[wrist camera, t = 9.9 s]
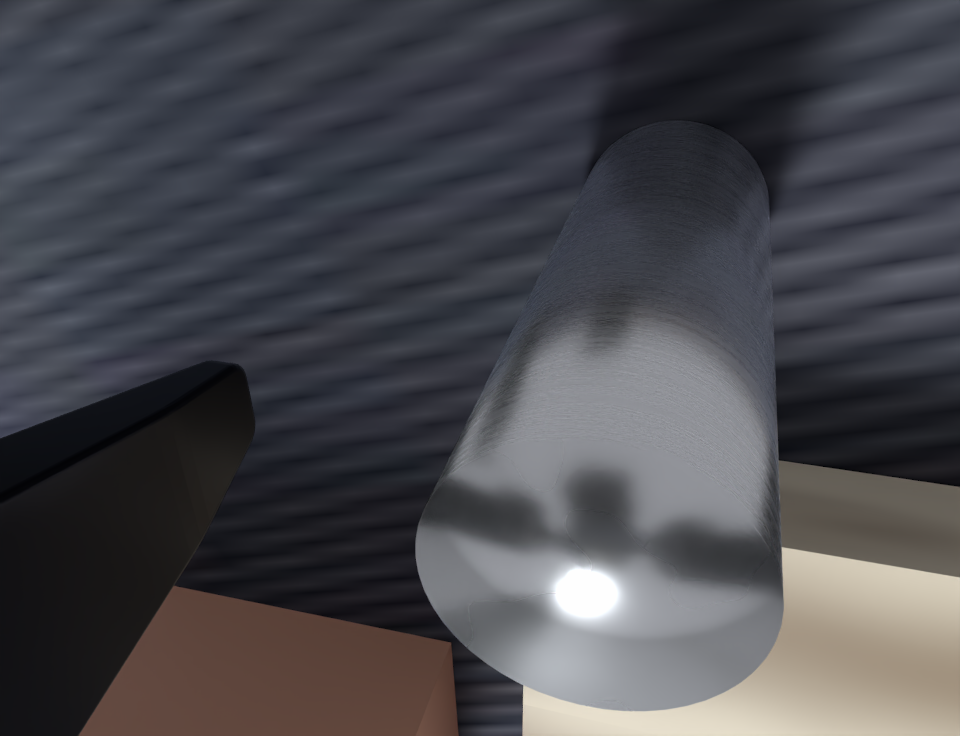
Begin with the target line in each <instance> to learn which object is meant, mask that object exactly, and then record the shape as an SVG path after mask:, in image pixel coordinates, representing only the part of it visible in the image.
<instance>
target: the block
mask: <svg viewBox="0 0 960 736" xmlns="http://www.w3.org/2000/svg"><path fill="white" fill-rule="evenodd" d="M79 736H459V735H458V722H457V710H456V697H455V685H454V672H453V659H452V647H451V643H450V642H446V641H441V640H436V639H431V638H426V637H421V636H416V635H411V634H406V633H402V632H397V631H392V630H387V629H382V628H377V627H372V626H367V625H363V624H358V623H353V622H348V621H343V620H338V619H333V618H328V617H323V616H319V615H314V614H309V613H304V612H299V611H294V610H289V609H284V608H279V607H275V606H270V605H265V604H260V603H255V602H250V601H245V600H240V599H236V598H231V597H226V596H221V595H216V594H211V593H206V592H201V591H196V590H192V589H187V588H182V587H177V586H173V588H172V590H171V591H170V593H169V594H168V596H167V598H166V599H165V601H164V602H163V604H162V605H161V607H160V609H159V610H158V612H157V613H156V615H155V616H154V618H153V620H152V621H151V623H150V624H149V626H148V627H147V629H146V631H145V632H144V634H143V635H142V637H141V638H140V640H139V642H138V643H137V645H136V646H135V648H134V649H133V651H132V653H131V654H130V656H129V657H128V659H127V660H126V662H125V664H124V665H123V667H122V668H121V670H120V672H119V673H118V675H117V676H116V678H115V679H114V681H113V683H112V684H111V686H110V687H109V689H108V690H107V692H106V694H105V695H104V697H103V698H102V700H101V701H100V703H99V705H98V706H97V708H96V709H95V711H94V712H93V714H92V716H91V717H90V719H89V720H88V722H87V723H86V725H85V727H84V728H83V730H82V731H81V733H80V734H79Z"/></svg>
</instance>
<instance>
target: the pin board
mask: <svg viewBox="0 0 960 736" xmlns="http://www.w3.org/2000/svg"><path fill="white" fill-rule="evenodd" d="M779 485H780V513H781V540H782V568H783V596H784V612H783V618H782V625H781V629H780V631H779V634H778V637H777V640H776V642H775V644H774V646H773V648H772V649H771V651H770V653H769V654H768V656H767V658H766V659H765V660H764V661H763V662H762V663H761V665H760V666H759V667H758V668H757V669H756V670H755V671H754V672H753V673H752V674H751V675H749V676H748V677H747V678H746V679H745V680H743V681H742V682H741V683H739V684H738V685H736V686H734V687H733V688H731V689H729V690H728V691H726V692H724V693H722V694H720V695H717V696H715V697H713V698H710V699H708V700H706V701H702V702H699V703H695V704H692V705H689V706H684V707H679V708H673V709H667V710H656V711H618V710H608V709H600V708H594V707H589V706H583V705H579V704H575V703H571V702H568V701H564V700H560V699H557V698H554V697H551V696H549V695H546V694H543V693H540V692H538V691H536V690H533V689H531V688H529V687H527V686H524V685H523V736H960V487H956V486H949V485H943V484H936V483H929V482H922V481H916V480H909V479H902V478H895V477H888V476H882V475H875V474H868V473H861V472H854V471H848V470H841V469H834V468H827V467H821V466H814V465H807V464H800V463H793V462H787V461H780V460H779Z"/></svg>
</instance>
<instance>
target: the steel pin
mask: <svg viewBox="0 0 960 736" xmlns="http://www.w3.org/2000/svg"><path fill="white" fill-rule="evenodd" d="M416 562H417V568H418V573H419V576H420V579H421V582H422V585H423V588H424V591H425V593H426V595H427V597H428V599H429V601H430V603H431V605H432V606H433V608H434V610H435V611H436V613H437V614H438V616H439V617H440V619H441V620H442V621H443V623H444V624H445V625H446V626H447V627H448V629H449V630H450V631H451V632H452V633H453V635H454V636H455V637H456V638H457V639H458V640H459V641H460V642H461V643H462V644H463V645H464V646H466V647H467V648H468V649H469V650H470V651H471V652H472V653H474V654H475V655H476V656H477V657H479V658H480V659H481V660H482V661H484V662H485V663H487V664H488V665H490V666H491V667H493V668H494V669H496V670H497V671H499V672H500V673H502V674H504V675H505V676H507V677H509V678H511V679H513V680H514V681H516V682H518V683H520V684H522V685H524V686H527V687H529V688H531V689H533V690H536V691H538V692H540V693H543V694H546V695H549V696H551V697H554V698H557V699H560V700H564V701H568V702H571V703H575V704H579V705H583V706H589V707H594V708H600V709H608V710H618V711H656V710H667V709H673V708H679V707H684V706H689V705H692V704H695V703H699V702H702V701H706V700H708V699H710V698H713V697H715V696H717V695H720V694H722V693H724V692H726V691H728V690H729V689H731V688H733V687H734V686H736V685H738V684H739V683H741V682H742V681H743V680H745V679H746V678H747V677H748V676H749V675H751V674H752V673H753V672H754V671H755V670H756V669H757V668H758V667H759V666H760V665H761V663H762V662H763V661H764V660H765V659H766V658H767V656H768V654H769V653H770V651H771V649H772V648H773V646H774V644H775V642H776V640H777V637H778V634H779V631H780V629H781V625H782V618H783V612H784V596H783V568H782V540H781V513H780V485H779V458H778V430H777V402H776V375H775V347H774V320H773V292H772V264H771V237H770V209H769V194H768V189H767V184H766V181H765V179H764V176H763V173H762V171H761V169H760V167H759V165H758V164H757V162H756V161H755V159H754V158H753V156H752V155H751V154H750V152H749V151H748V150H747V149H746V148H745V147H744V146H743V145H742V144H741V143H739V142H738V141H737V140H735V139H734V138H733V137H732V136H730V135H728V134H726V133H725V132H723V131H721V130H719V129H717V128H714V127H712V126H709V125H706V124H702V123H698V122H693V121H685V120H669V121H662V122H656V123H652V124H648V125H645V126H642V127H640V128H637V129H635V130H633V131H631V132H629V133H627V134H626V135H624V136H622V137H621V138H620V139H618V140H617V141H616V142H614V143H613V144H612V145H611V146H610V147H609V148H608V149H607V150H606V151H605V152H604V153H603V154H602V155H601V157H600V158H599V159H598V161H597V162H596V164H595V165H594V167H593V169H592V170H591V172H590V174H589V176H588V178H587V180H586V182H585V184H584V186H583V188H582V190H581V192H580V194H579V196H578V198H577V200H576V203H575V205H574V207H573V209H572V211H571V213H570V215H569V217H568V219H567V221H566V223H565V225H564V227H563V229H562V231H561V233H560V235H559V237H558V239H557V241H556V243H555V245H554V247H553V249H552V251H551V253H550V255H549V257H548V259H547V261H546V263H545V265H544V267H543V269H542V271H541V273H540V275H539V277H538V279H537V281H536V283H535V285H534V287H533V289H532V291H531V293H530V295H529V298H528V300H527V302H526V304H525V306H524V308H523V310H522V312H521V314H520V316H519V318H518V320H517V322H516V324H515V326H514V328H513V330H512V332H511V334H510V336H509V338H508V340H507V342H506V344H505V346H504V348H503V350H502V352H501V354H500V356H499V358H498V360H497V362H496V364H495V366H494V368H493V370H492V372H491V374H490V376H489V378H488V380H487V382H486V384H485V386H484V388H483V391H482V393H481V395H480V397H479V399H478V401H477V403H476V405H475V407H474V409H473V411H472V413H471V415H470V417H469V419H468V421H467V423H466V425H465V427H464V429H463V431H462V433H461V435H460V437H459V439H458V441H457V443H456V445H455V447H454V449H453V451H452V453H451V455H450V457H449V459H448V461H447V463H446V465H445V467H444V469H443V471H442V473H441V475H440V477H439V479H438V481H437V483H436V486H435V488H434V490H433V492H432V494H431V496H430V498H429V500H428V502H427V504H426V506H425V508H424V510H423V513H422V516H421V518H420V521H419V524H418V529H417V535H416Z"/></svg>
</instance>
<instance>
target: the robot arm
mask: <svg viewBox="0 0 960 736" xmlns="http://www.w3.org/2000/svg"><path fill="white" fill-rule="evenodd" d="M254 431H255V417H254V412H253V407H252V402H251V397H250V392H249V387H248V382H247V377H246V374H245V371H244V370H243V368H242V367H241V366H239V365H238V364H233V363H226V362H220V361H212V360H211V361H205V362H202V363H199V364H197V365H194V366H191V367H189V368H186V369H183V370H181V371H178V372H176V373H173V374H170V375H168V376H165V377H162V378H160V379H157V380H154V381H152V382H149V383H146V384H144V385H141V386H138V387H136V388H133V389H130V390H128V391H125V392H122V393H120V394H117V395H114V396H112V397H109V398H106V399H104V400H101V401H99V402H96V403H93V404H91V405H88V406H85V407H83V408H80V409H77V410H75V411H72V412H69V413H67V414H64V415H61V416H59V417H56V418H53V419H51V420H48V421H45V422H43V423H40V424H37V425H35V426H32V427H29V428H27V429H24V430H21V431H19V432H16V433H14V434H11V435H8V436H6V437H3V438H0V736H79V734H80V733H81V731H82V730H83V728H84V727H85V725H86V723H87V722H88V720H89V719H90V717H91V716H92V714H93V712H94V711H95V709H96V708H97V706H98V705H99V703H100V701H101V700H102V698H103V697H104V695H105V694H106V692H107V690H108V689H109V687H110V686H111V684H112V683H113V681H114V679H115V678H116V676H117V675H118V673H119V672H120V670H121V668H122V667H123V665H124V664H125V662H126V660H127V659H128V657H129V656H130V654H131V653H132V651H133V649H134V648H135V646H136V645H137V643H138V642H139V640H140V638H141V637H142V635H143V634H144V632H145V631H146V629H147V627H148V626H149V624H150V623H151V621H152V620H153V618H154V616H155V615H156V613H157V612H158V610H159V609H160V607H161V605H162V604H163V602H164V601H165V599H166V598H167V596H168V594H169V593H170V591H171V590H172V588H173V586H174V585H175V583H176V582H177V580H178V579H179V577H180V575H181V574H182V572H183V571H184V569H185V568H186V566H187V564H188V563H189V561H190V560H191V558H192V557H193V555H194V553H195V551H196V550H197V548H198V546H199V545H200V543H201V541H202V540H203V538H204V536H205V534H206V532H207V530H208V528H209V527H210V525H211V523H212V521H213V519H214V517H215V515H216V513H217V511H218V509H219V506H220V504H221V502H222V500H223V498H224V496H225V494H226V492H227V490H228V488H229V486H230V484H231V482H232V480H233V478H234V476H235V474H236V472H237V470H238V468H239V466H240V464H241V462H242V460H243V458H244V456H245V454H246V452H247V450H248V448H249V446H250V444H251V441H252V439H253V435H254Z"/></svg>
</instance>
